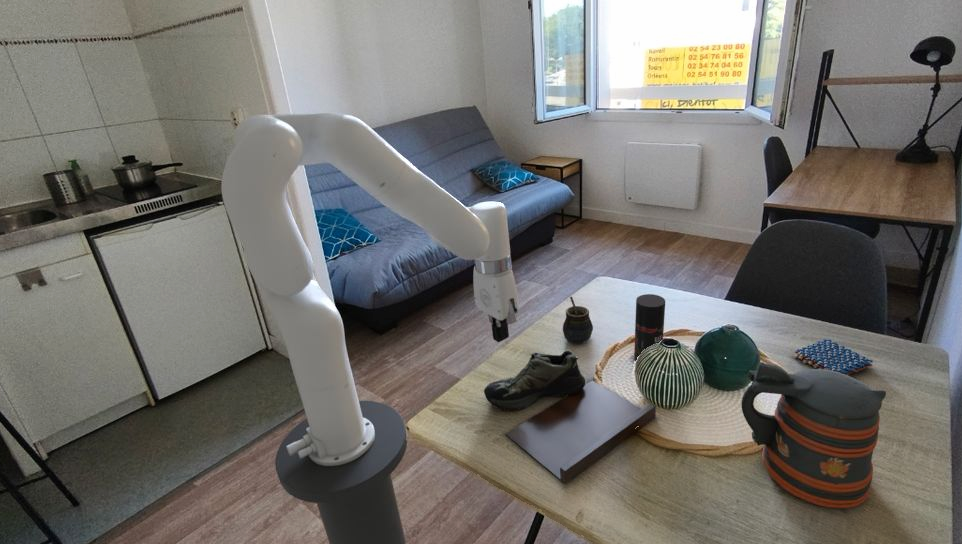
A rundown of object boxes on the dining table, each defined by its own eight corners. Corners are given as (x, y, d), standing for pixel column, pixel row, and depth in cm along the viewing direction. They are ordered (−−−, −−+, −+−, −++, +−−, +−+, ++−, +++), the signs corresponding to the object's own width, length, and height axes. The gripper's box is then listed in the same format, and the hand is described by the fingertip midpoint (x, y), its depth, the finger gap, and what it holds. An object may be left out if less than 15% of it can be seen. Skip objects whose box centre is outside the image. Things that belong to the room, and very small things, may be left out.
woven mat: (825, 343, 113) (827, 336, 112) (873, 368, 104) (876, 359, 103) (790, 356, 110) (792, 348, 109) (837, 382, 101) (839, 374, 100)
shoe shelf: (565, 484, 84) (565, 471, 82) (505, 434, 96) (504, 422, 94) (655, 418, 96) (656, 405, 95) (592, 381, 108) (592, 369, 107)
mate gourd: (573, 350, 119) (572, 313, 115) (556, 336, 126) (555, 301, 122) (598, 342, 122) (598, 305, 118) (580, 328, 128) (580, 293, 124)
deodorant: (652, 370, 110) (655, 309, 104) (628, 360, 114) (630, 301, 108) (666, 358, 113) (670, 299, 107) (643, 348, 117) (645, 291, 111)
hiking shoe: (481, 393, 108) (475, 356, 104) (573, 370, 112) (572, 334, 108) (491, 418, 100) (485, 379, 96) (590, 392, 104) (588, 354, 100)
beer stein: (745, 501, 78) (762, 397, 69) (725, 434, 90) (738, 340, 82) (887, 516, 73) (923, 406, 65) (845, 444, 86) (871, 345, 78)
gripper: (457, 259, 106) (467, 332, 114) (501, 279, 95) (509, 359, 103) (485, 248, 110) (493, 320, 118) (530, 266, 99) (536, 344, 107)
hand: (501, 338), depth 110 cm, fingers closed
